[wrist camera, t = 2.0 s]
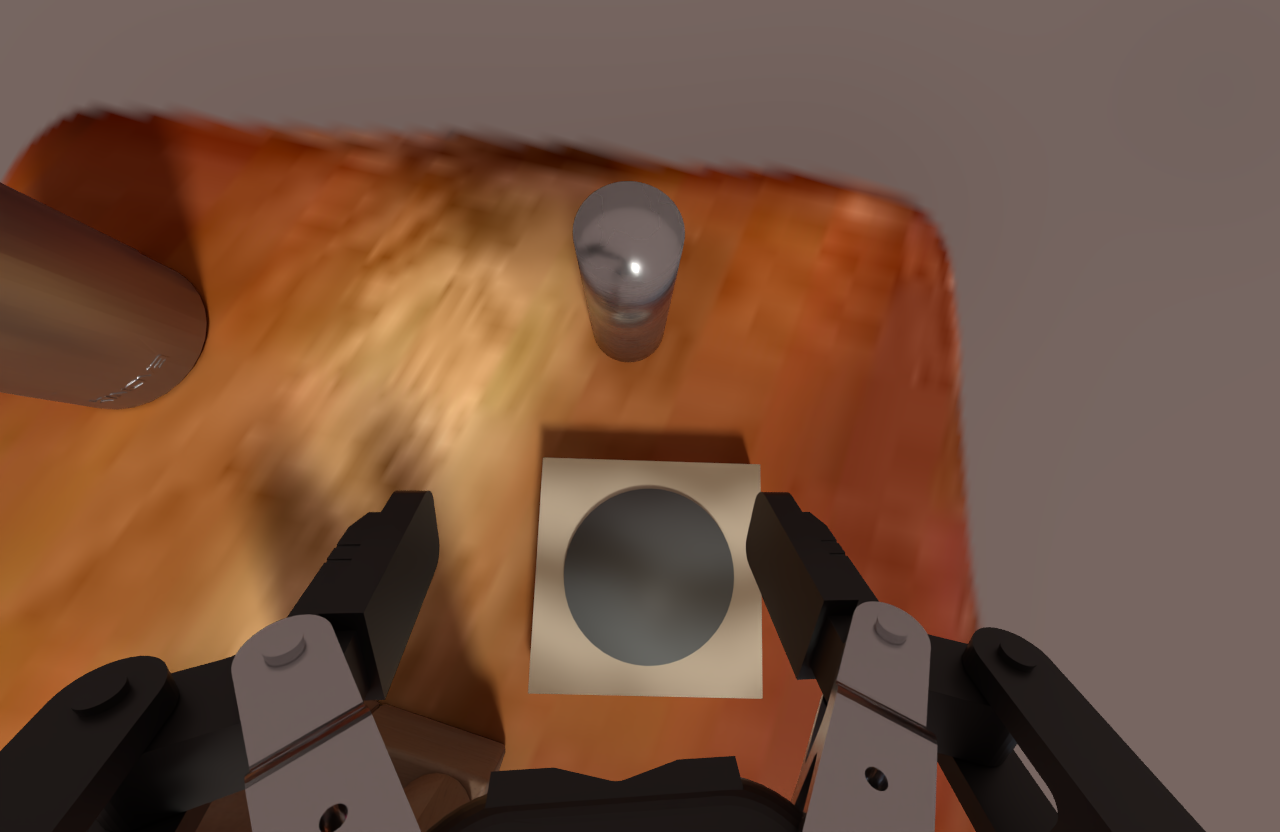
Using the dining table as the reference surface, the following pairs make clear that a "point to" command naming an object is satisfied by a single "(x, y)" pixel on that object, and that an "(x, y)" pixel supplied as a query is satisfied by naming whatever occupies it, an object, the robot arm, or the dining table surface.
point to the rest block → (646, 580)
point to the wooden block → (404, 769)
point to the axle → (628, 265)
